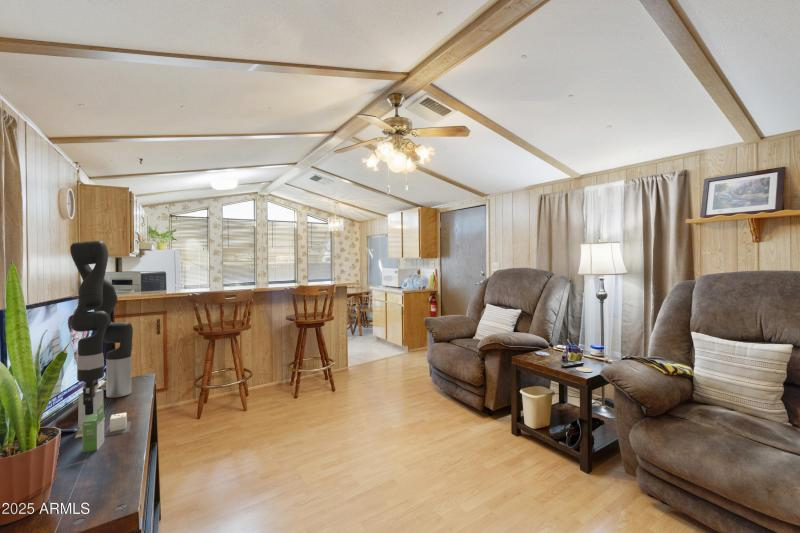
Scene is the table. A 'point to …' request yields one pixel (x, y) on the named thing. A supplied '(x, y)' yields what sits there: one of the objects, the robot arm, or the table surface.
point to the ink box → (93, 431)
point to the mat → (118, 430)
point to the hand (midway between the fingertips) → (91, 410)
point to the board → (80, 432)
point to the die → (118, 421)
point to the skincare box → (97, 403)
